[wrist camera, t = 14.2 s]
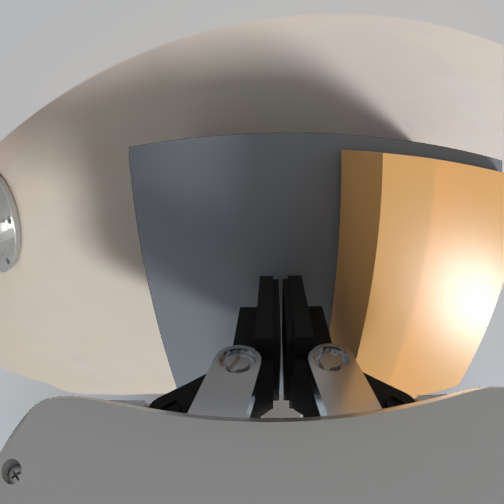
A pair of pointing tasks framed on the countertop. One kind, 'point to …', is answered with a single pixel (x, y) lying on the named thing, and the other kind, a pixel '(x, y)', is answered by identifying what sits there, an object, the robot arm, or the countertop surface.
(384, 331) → the cover
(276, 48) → the countertop surface
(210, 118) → the countertop surface
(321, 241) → the housing
